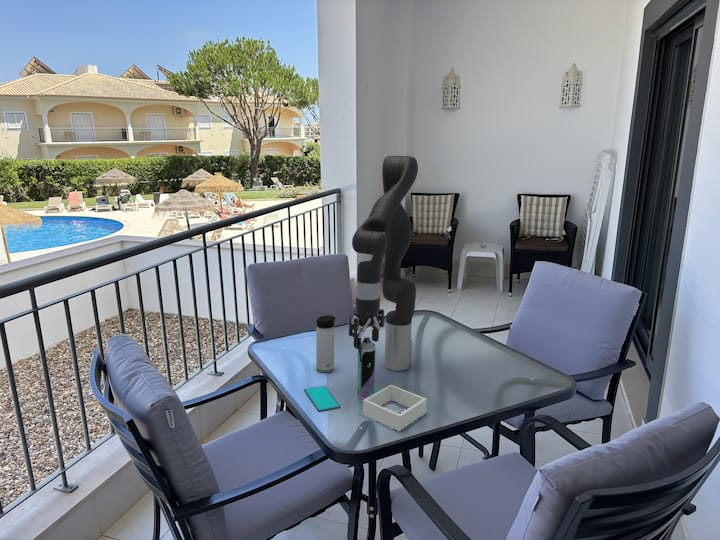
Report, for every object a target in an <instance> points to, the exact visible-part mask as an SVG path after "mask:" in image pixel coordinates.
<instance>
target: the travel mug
mask: <svg viewBox="0 0 720 540" xmlns="http://www.w3.org/2000/svg"><path fill="white" fill-rule="evenodd" d="M335 320H336V316H333V315H322V316H319V317H318V318H316V329H315V330H316V334H315V336H316V343H315V344H316V346H315V347H316V348H315V349H316V356H315V357H316V359H315V360H316V365H315V366H316V371H317V372H319V373H321V374H328V373H331V372H333V371H334V370H335Z"/></svg>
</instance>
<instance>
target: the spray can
mask: <svg viewBox="0 0 720 540" xmlns="http://www.w3.org/2000/svg"><path fill="white" fill-rule="evenodd" d="M375 367H376V344H375V342H373V341H372V340H371V339H370V337H369V336H367V337H364V338H363V340H361V349H357V379H356V380H357V384H356V397H357V398H358V399H360V400H362V401H363V400H364V399H366V398H368V397H370V396H371V395H373V394H375V372H376V371H375V369H376V368H375Z"/></svg>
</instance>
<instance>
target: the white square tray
mask: <svg viewBox="0 0 720 540" xmlns="http://www.w3.org/2000/svg"><path fill="white" fill-rule="evenodd" d="M390 400H393V401H395V402H398V403H400V404H402V405H405V406H407V407H410V408H407V407H406V408H407V410H406V408H404V410H405V411H404V410H403V411H402V412H401V414H398V413H396V411H394V412H393V411H391V410H392V409H390V410H388V408H387V406H388V405H386V404H388V403H389V402H391V401H390ZM388 401H389V402H388ZM393 401H392V402H393ZM387 402H388V403H387ZM395 402H394V403H395ZM385 403H386V404H385ZM398 403H397V404H398ZM427 403H428V399H427V398H426V397H424V396H421V395H418V394H415V393H414V392H411V391H408V390H405V389H403V388H401V387H398V386H396V385H393V384H389V385H387V386H386V387H384V388H382V389H381V390H378V391H376V392H374V394H373V395H371V396H370V397H368V398H366V399H364V400H363V399H362V416H363V415H364V417H365V418H368V419H370V418H371V419H370V420H372V419H373V420H372V421H374V420H375V422H376V421H378V422H380V423H379V424H381V423H383V424H385V425H387V426H390V427H393V428H395V429H397V430H401V429H402V428H404V427H405V426H407V425H408V424H410V423H411V422H413V421H414V420H416V419H417V418H419V417H420V416H422V415H423V414H424V413H425V412H426V413H427ZM383 404H384V405H386V406H385V407H384V405H383ZM400 404H399V405H400ZM382 405H383V406H382ZM402 405H401V406H402ZM405 406H404V407H405ZM400 410H401V409H400ZM397 411H398V412H399V410H397ZM422 417H423V416H422ZM419 419H420V418H419ZM416 421H417V420H416ZM378 422H377V423H378ZM413 423H414V422H413ZM383 424H382V425H383ZM385 425H384V426H385ZM387 426H386V427H387Z"/></svg>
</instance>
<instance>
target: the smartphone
mask: <svg viewBox="0 0 720 540" xmlns="http://www.w3.org/2000/svg"><path fill="white" fill-rule="evenodd" d="M303 390H304V393H305V394H306V396H307V397H308V400H310V402H311V403H312V405H313V406H314V408H315V409H316V412H318V413H322V412H326V411H327V412H328V411H332V410H333V411H334V410H338V409H341V405H340V404H339V402H338V401H337V400H336V398H335V397H334V396H333V394H332V393H331V392H330V390H329V389H328V388H327V386H326V385H320V386H314V387H309V388H308V387H307V388H304V389H303Z"/></svg>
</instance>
